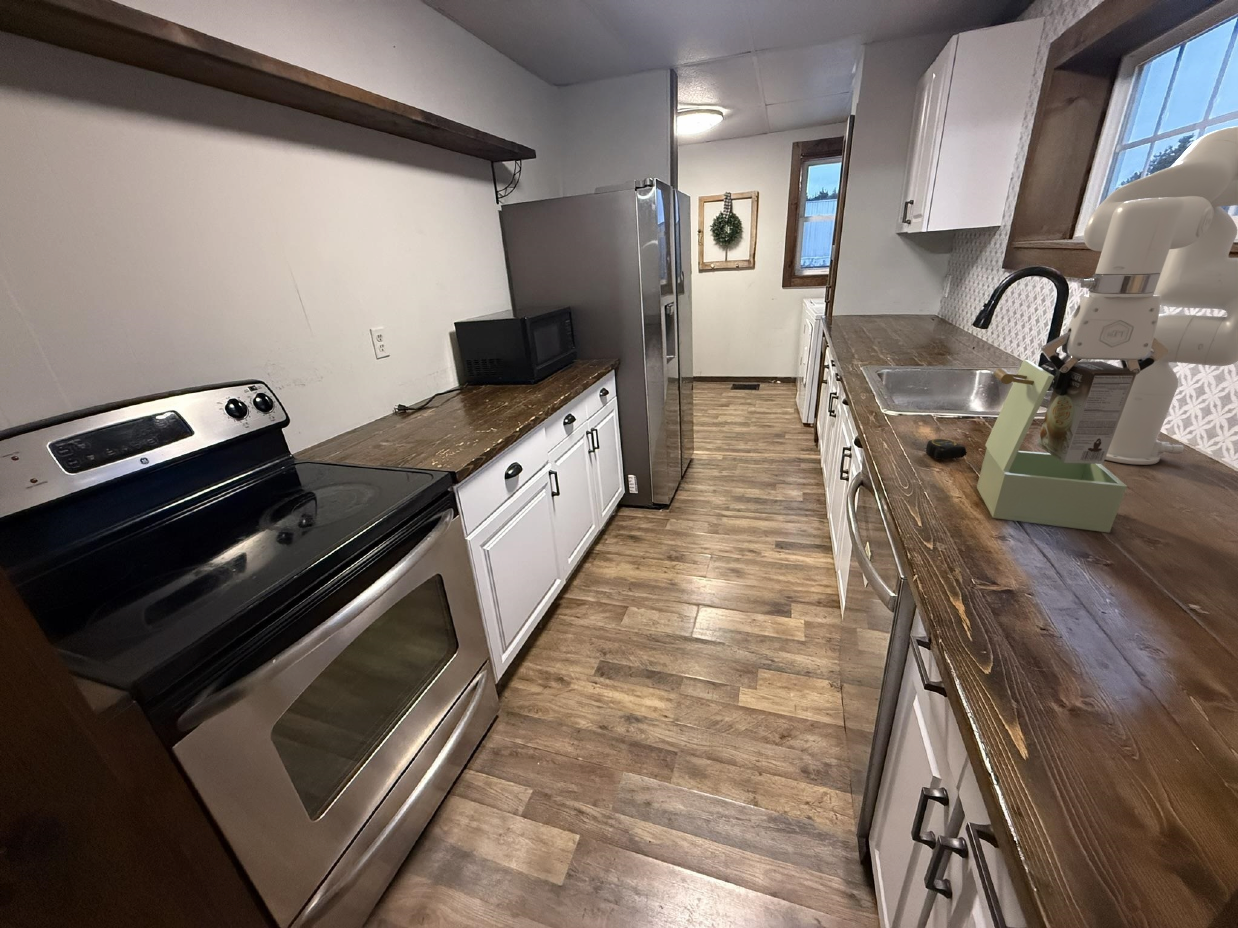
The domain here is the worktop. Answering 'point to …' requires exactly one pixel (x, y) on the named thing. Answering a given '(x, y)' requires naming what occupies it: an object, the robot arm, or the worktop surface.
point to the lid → (1017, 411)
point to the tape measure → (945, 449)
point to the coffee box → (1086, 413)
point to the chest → (1051, 491)
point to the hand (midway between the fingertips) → (1087, 394)
